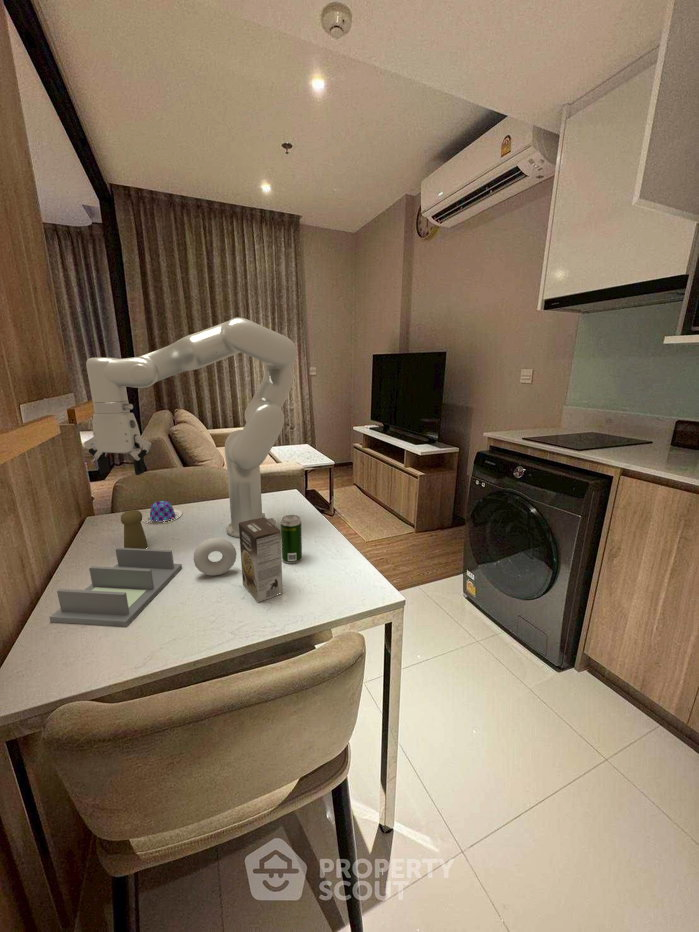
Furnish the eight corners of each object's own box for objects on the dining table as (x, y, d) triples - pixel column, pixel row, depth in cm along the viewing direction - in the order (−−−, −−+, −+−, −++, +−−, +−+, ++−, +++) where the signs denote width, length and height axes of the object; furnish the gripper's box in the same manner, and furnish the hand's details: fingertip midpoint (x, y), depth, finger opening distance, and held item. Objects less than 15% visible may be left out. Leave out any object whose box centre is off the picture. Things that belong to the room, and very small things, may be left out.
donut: (195, 581, 89) (191, 544, 87) (195, 574, 92) (191, 537, 90) (238, 574, 92) (235, 538, 90) (237, 567, 96) (234, 532, 93)
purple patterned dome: (143, 514, 128) (141, 500, 127) (181, 509, 133) (179, 495, 132) (142, 528, 118) (140, 512, 116) (183, 521, 123) (181, 506, 122)
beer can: (304, 562, 99) (303, 521, 95) (283, 566, 97) (282, 523, 94) (299, 553, 103) (298, 513, 100) (280, 556, 102) (278, 515, 98)
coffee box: (241, 584, 88) (237, 522, 84) (266, 575, 92) (263, 515, 88) (257, 604, 82) (253, 537, 77) (283, 593, 85) (281, 529, 81)
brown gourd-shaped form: (137, 554, 101) (132, 517, 98) (118, 551, 102) (112, 515, 99) (153, 544, 107) (148, 508, 104) (134, 542, 108) (129, 506, 105)
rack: (182, 568, 95) (179, 546, 93) (126, 626, 74) (122, 600, 72) (122, 565, 96) (118, 543, 94) (50, 622, 75) (44, 596, 73)
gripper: (153, 407, 97) (162, 470, 101) (90, 406, 98) (101, 468, 102) (135, 410, 89) (145, 478, 94) (67, 409, 90) (80, 476, 95)
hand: (122, 473), depth 98 cm, fingers open, 9 cm apart
